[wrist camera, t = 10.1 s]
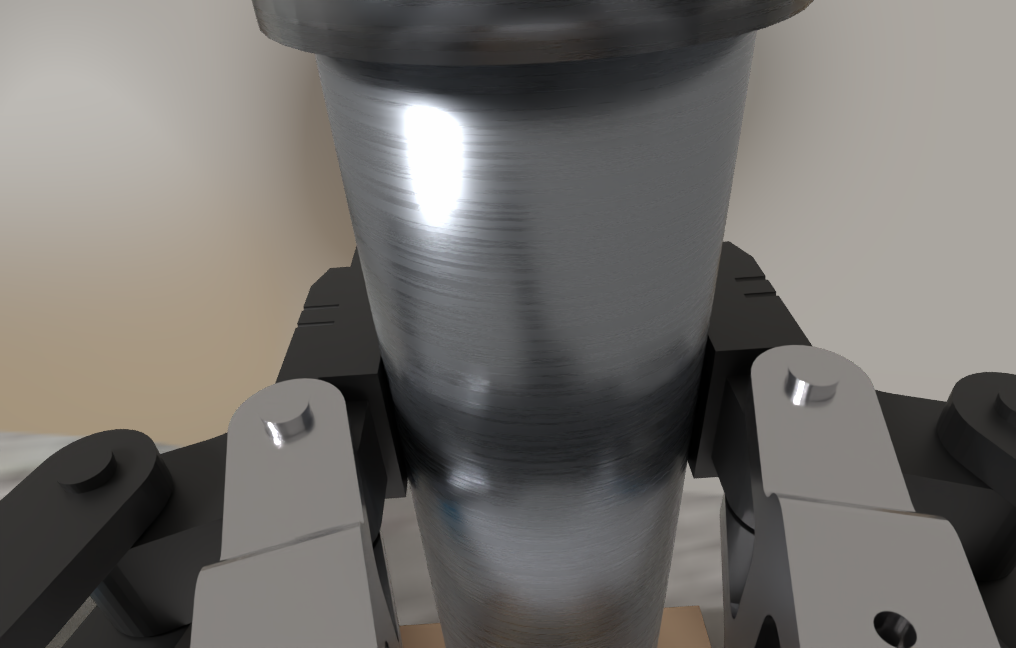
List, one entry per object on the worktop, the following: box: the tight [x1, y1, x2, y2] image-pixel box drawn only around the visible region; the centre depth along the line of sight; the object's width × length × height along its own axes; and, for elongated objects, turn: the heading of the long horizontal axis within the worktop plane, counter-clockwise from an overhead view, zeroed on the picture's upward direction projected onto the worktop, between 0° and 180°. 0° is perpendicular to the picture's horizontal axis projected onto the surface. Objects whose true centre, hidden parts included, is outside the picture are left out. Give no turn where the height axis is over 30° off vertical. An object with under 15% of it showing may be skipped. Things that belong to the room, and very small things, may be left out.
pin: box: [252, 0, 814, 648], centre depth 9 cm, size 5×5×14 cm
